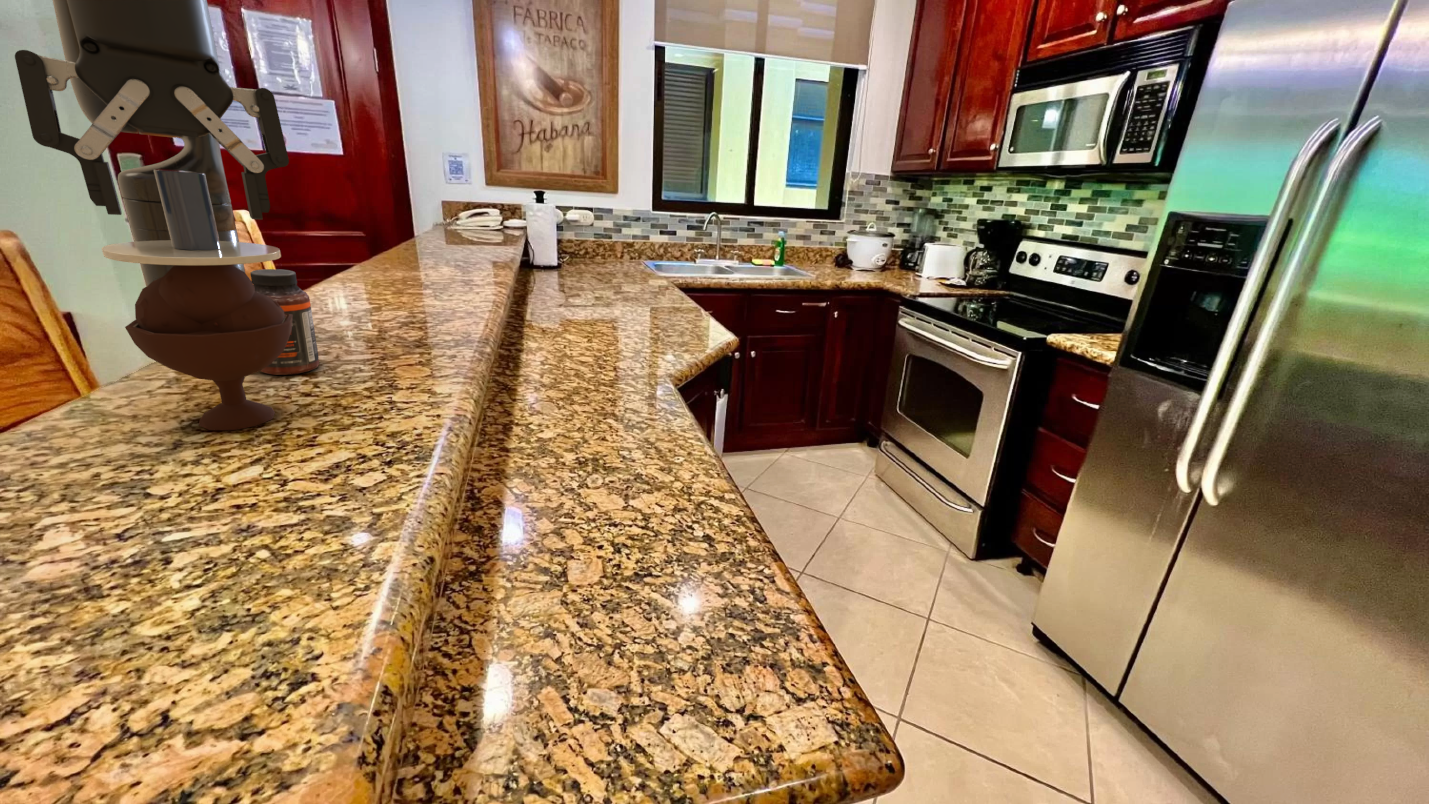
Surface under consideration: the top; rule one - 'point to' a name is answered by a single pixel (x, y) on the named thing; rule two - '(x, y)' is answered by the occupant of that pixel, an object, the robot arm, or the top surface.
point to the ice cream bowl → (212, 335)
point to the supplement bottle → (302, 338)
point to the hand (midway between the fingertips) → (189, 216)
